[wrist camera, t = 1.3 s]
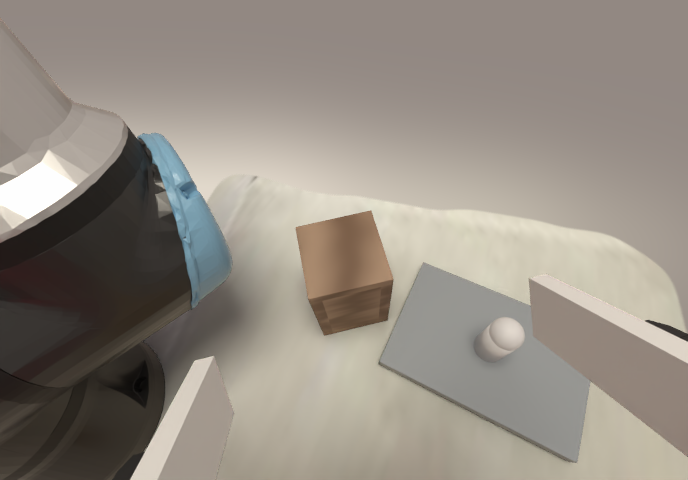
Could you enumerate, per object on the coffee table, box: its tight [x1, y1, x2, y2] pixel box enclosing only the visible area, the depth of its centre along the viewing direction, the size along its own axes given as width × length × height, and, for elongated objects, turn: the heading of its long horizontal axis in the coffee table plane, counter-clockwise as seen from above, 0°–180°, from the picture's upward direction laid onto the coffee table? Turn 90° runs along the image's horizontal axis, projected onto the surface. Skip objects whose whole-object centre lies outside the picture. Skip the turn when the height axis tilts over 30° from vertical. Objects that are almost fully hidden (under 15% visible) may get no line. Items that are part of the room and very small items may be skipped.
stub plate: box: [379, 262, 590, 463], centre depth 31 cm, size 18×12×8 cm, turn 63°
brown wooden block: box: [296, 211, 393, 335], centre depth 34 cm, size 7×7×11 cm
